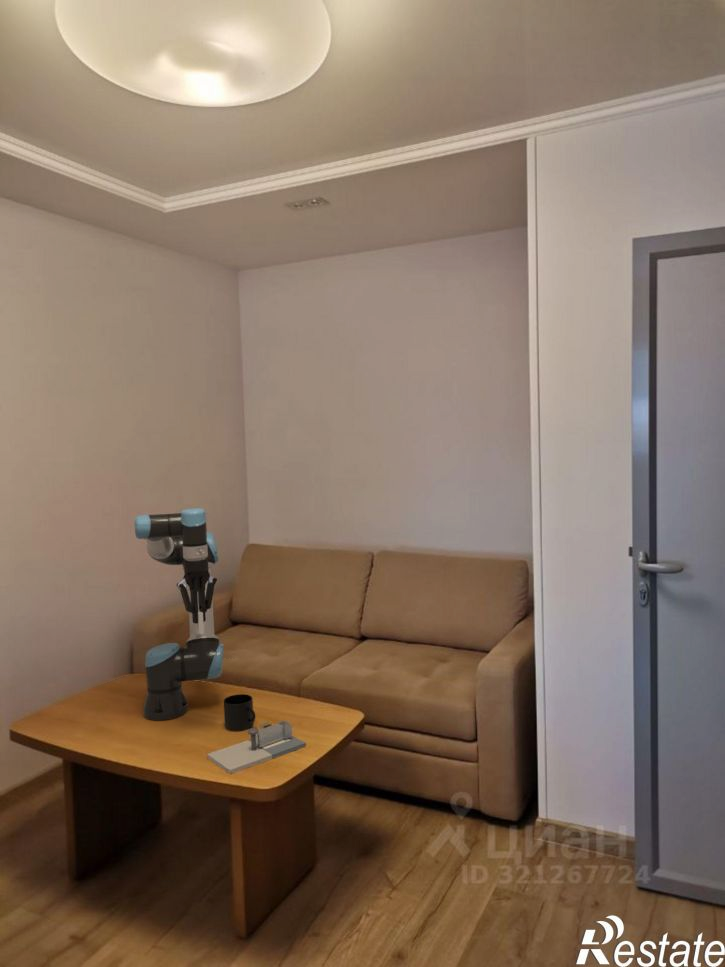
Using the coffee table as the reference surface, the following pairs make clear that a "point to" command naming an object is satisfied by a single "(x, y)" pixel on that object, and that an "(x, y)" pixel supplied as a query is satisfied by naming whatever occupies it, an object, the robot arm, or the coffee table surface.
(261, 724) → the block
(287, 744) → the door board
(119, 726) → the coffee table surface
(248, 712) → the mug
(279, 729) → the bar
